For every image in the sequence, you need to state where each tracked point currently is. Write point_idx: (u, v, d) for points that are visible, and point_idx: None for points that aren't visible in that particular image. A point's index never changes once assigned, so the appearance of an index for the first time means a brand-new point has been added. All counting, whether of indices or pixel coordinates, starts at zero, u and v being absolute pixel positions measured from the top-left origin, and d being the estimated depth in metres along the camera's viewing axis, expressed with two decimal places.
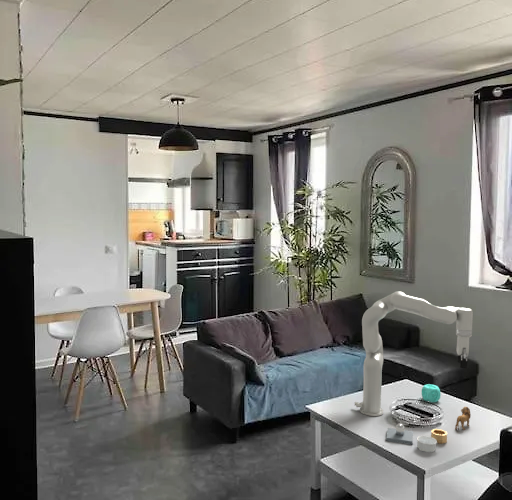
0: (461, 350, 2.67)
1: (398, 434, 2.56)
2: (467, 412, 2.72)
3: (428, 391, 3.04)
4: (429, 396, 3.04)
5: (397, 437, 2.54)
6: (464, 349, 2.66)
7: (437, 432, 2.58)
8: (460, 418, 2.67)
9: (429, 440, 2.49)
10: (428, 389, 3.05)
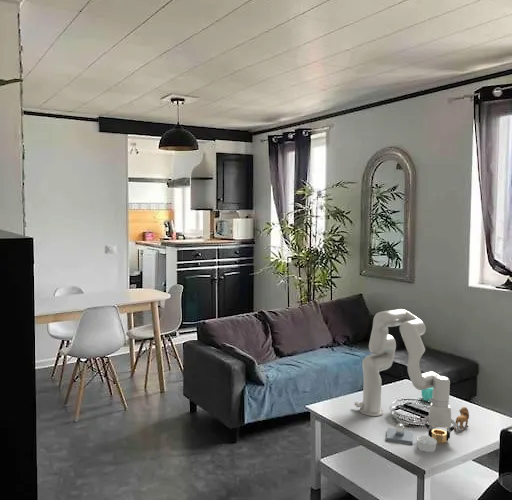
0: (451, 422, 2.52)
1: (398, 434, 2.56)
2: (466, 412, 2.71)
3: (428, 391, 3.04)
4: (429, 396, 3.04)
5: (397, 437, 2.54)
6: None
7: (437, 432, 2.58)
8: (459, 419, 2.66)
9: (429, 440, 2.49)
10: (428, 389, 3.05)
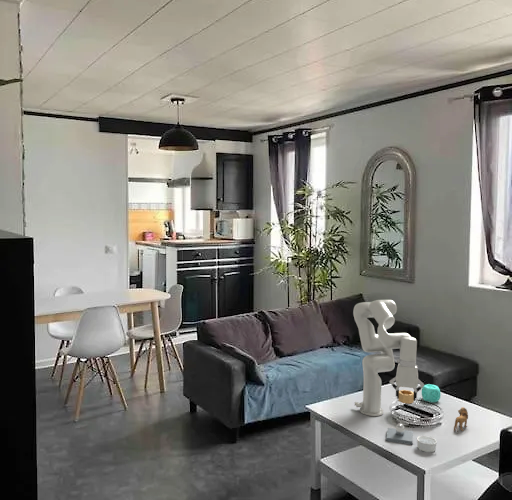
0: (417, 382, 2.53)
1: (398, 434, 2.56)
2: (465, 413, 2.71)
3: (428, 391, 3.04)
4: (429, 396, 3.04)
5: (397, 437, 2.54)
6: (419, 380, 2.54)
7: (405, 393, 2.58)
8: (459, 419, 2.66)
9: (429, 440, 2.49)
10: (428, 389, 3.05)
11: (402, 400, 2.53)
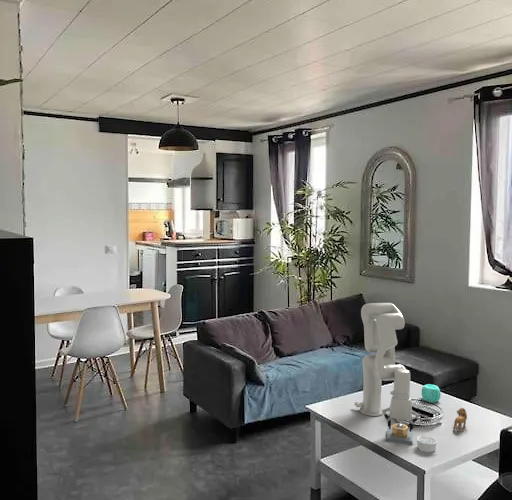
0: (411, 413, 2.54)
1: None
2: (464, 413, 2.70)
3: (428, 391, 3.04)
4: (429, 396, 3.04)
5: (397, 437, 2.54)
6: (413, 411, 2.55)
7: None
8: (458, 420, 2.65)
9: (429, 440, 2.49)
10: (428, 389, 3.05)
11: (396, 434, 2.55)
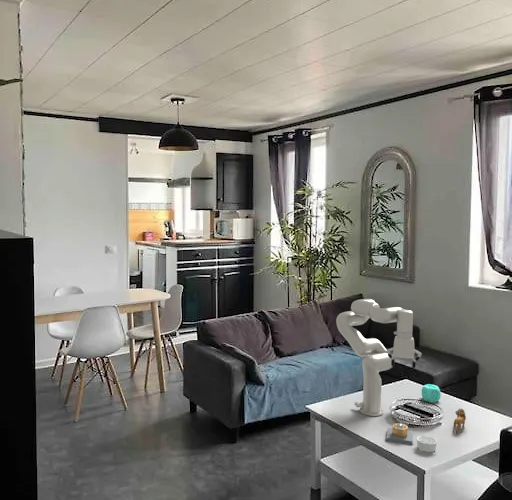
0: None
1: None
2: (463, 414, 2.69)
3: (428, 391, 3.04)
4: (429, 396, 3.04)
5: (397, 437, 2.54)
6: (415, 350, 2.66)
7: None
8: (457, 421, 2.64)
9: (429, 440, 2.49)
10: (428, 389, 3.05)
11: (396, 434, 2.55)
